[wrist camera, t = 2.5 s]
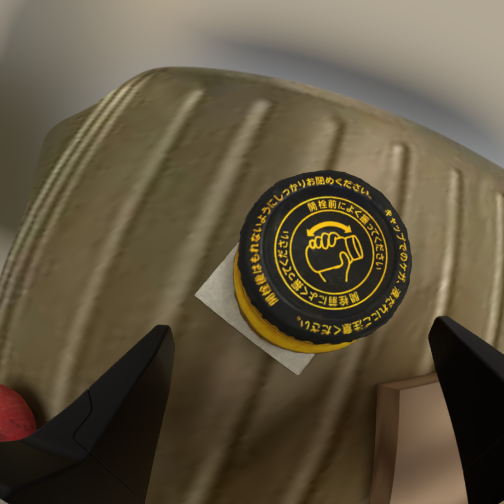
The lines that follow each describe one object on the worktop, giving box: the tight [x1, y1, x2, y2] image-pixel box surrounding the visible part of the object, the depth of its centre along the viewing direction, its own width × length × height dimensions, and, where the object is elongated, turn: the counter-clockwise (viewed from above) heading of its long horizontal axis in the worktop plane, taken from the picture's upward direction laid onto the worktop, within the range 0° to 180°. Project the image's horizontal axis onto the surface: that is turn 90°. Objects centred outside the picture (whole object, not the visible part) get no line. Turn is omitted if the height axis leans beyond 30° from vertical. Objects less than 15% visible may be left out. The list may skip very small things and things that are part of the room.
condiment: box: [195, 170, 412, 376], centre depth 14 cm, size 7×8×12 cm
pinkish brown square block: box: [369, 373, 468, 504], centre depth 15 cm, size 11×11×4 cm
